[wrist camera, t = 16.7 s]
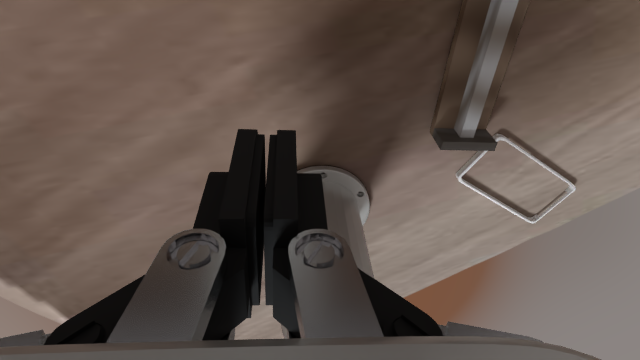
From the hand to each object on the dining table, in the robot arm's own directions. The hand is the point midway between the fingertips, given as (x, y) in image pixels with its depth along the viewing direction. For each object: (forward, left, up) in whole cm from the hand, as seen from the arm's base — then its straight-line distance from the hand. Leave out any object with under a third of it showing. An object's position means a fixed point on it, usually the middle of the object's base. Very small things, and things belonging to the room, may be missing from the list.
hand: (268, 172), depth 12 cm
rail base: (-2, -20, -29) cm, 35 cm away
